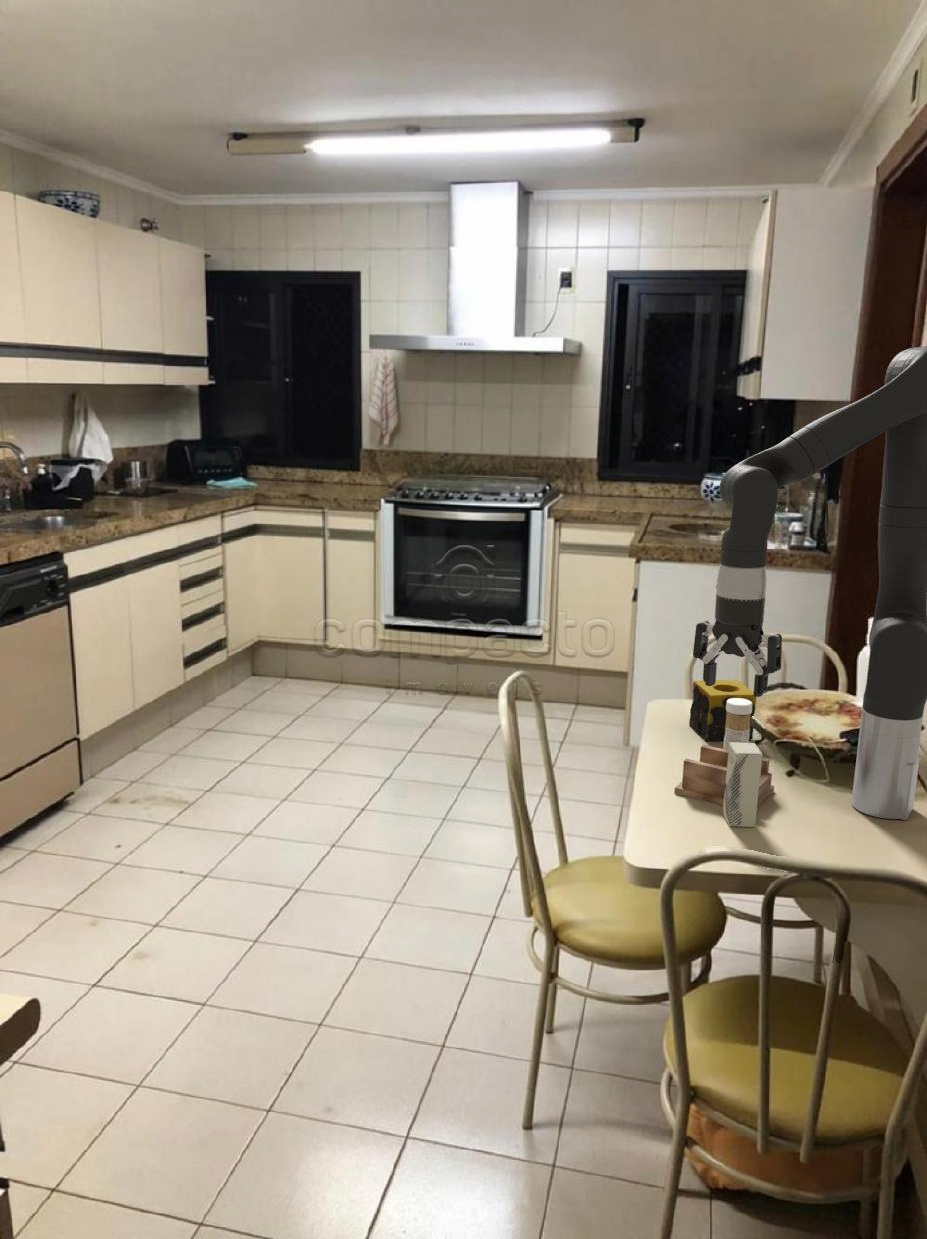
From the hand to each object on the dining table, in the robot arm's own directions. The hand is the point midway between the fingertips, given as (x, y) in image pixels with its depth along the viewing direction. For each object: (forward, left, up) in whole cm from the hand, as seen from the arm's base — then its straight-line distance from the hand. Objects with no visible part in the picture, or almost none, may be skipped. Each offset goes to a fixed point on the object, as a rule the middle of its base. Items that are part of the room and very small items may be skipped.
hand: (733, 690), depth 156 cm
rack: (+3, -7, -21) cm, 22 cm away
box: (-3, +3, -21) cm, 22 cm away
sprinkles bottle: (+5, -18, -21) cm, 28 cm away
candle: (+14, -36, -21) cm, 44 cm away
